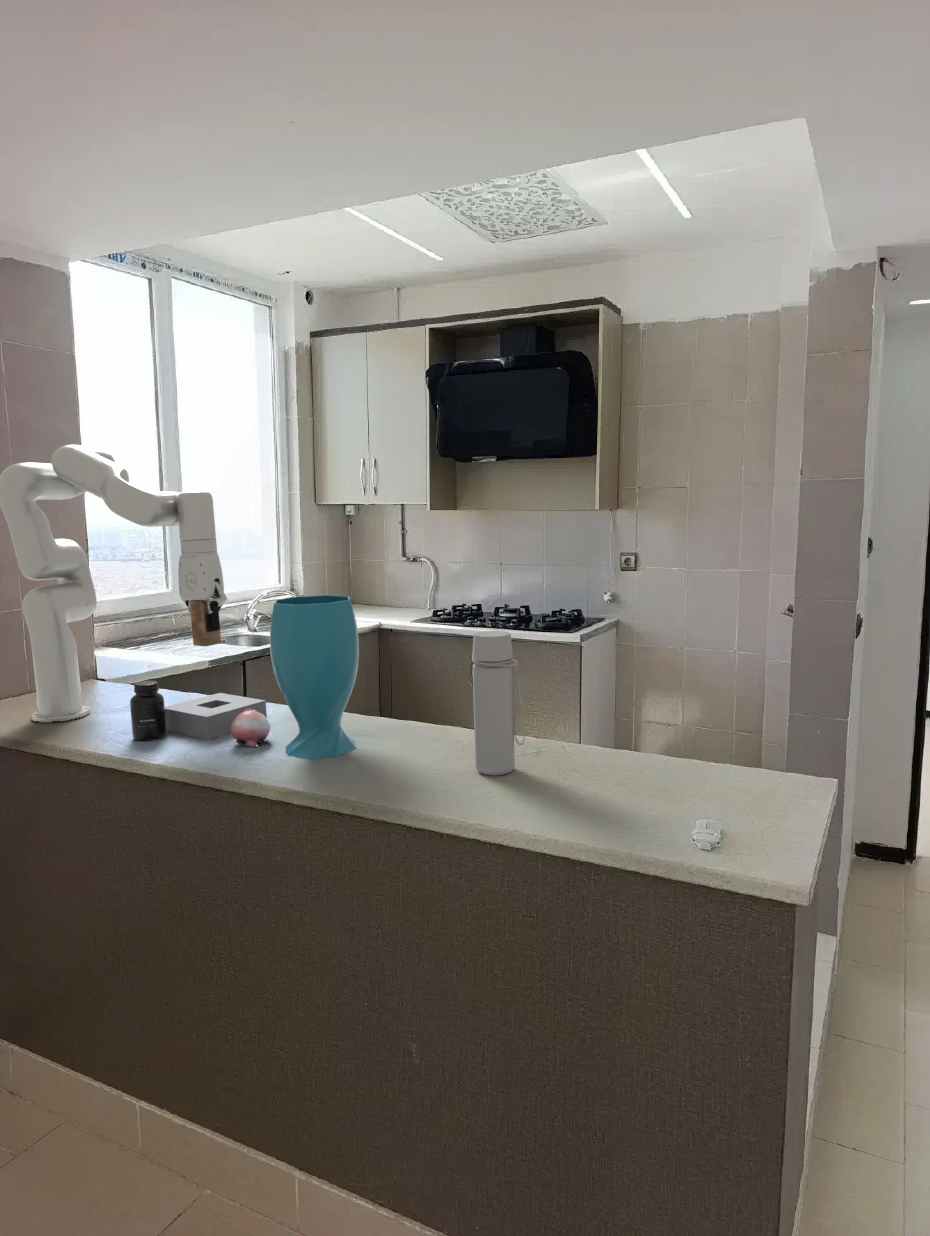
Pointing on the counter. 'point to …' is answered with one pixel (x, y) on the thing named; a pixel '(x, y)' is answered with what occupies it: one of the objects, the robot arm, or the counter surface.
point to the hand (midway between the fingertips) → (206, 629)
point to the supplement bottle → (147, 712)
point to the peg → (202, 625)
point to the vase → (316, 669)
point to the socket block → (209, 714)
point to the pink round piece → (250, 728)
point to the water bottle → (494, 702)
